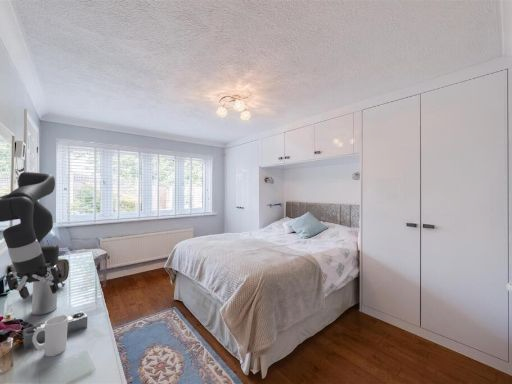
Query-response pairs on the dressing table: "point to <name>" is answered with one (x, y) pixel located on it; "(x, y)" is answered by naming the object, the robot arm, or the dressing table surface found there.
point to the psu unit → (74, 324)
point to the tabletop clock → (62, 269)
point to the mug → (53, 335)
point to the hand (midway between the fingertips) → (41, 294)
